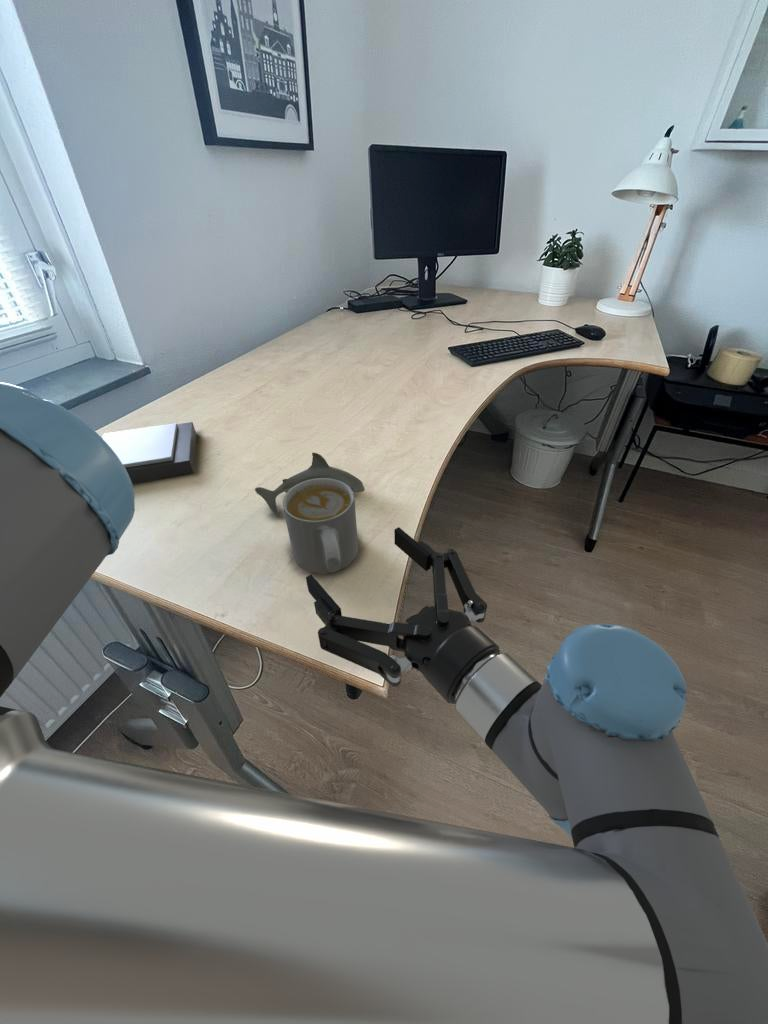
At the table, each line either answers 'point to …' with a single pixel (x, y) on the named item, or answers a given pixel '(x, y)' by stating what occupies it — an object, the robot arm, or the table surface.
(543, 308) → the table surface
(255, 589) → the table surface
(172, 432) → the scale
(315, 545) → the coffee mug
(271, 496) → the shark figurine
